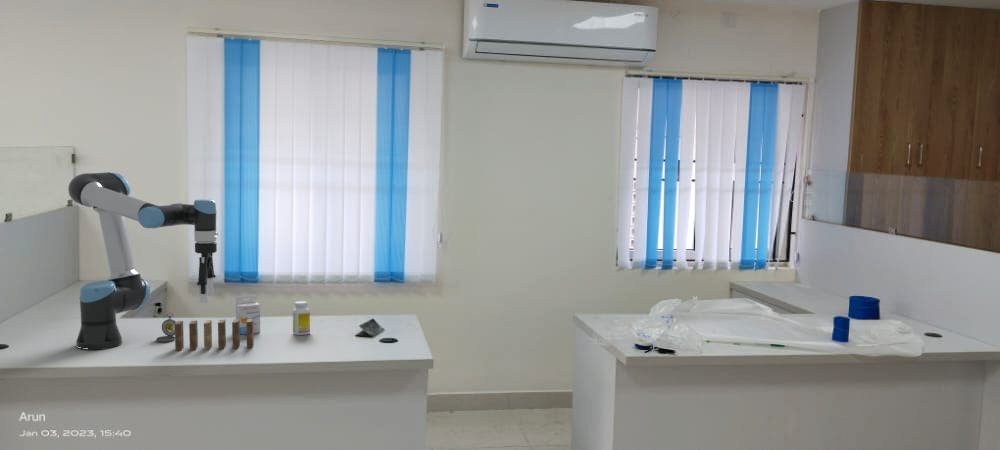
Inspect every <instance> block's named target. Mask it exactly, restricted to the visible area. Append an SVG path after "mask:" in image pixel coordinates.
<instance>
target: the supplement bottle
mask: <svg viewBox="0 0 1000 450" xmlns="http://www.w3.org/2000/svg"><path fill="white" fill-rule="evenodd" d="M307 306H308V301H303V300H301V301H295V302H294V308H293V309H292V333H293V335H296V336H306V335H309V334H310V333H311V315H310V314H311V310H310V308H308V307H307Z"/></svg>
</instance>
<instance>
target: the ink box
mask: <svg viewBox="0 0 1000 450" xmlns="http://www.w3.org/2000/svg"><path fill="white" fill-rule="evenodd" d="M235 300H236V301H235V302H236V303H235V319H239V326H240V335H246V322H247V320H248V319H253V334H257V333H261V304H260V303H258V302H257V295H256V294H250V295H237V296H236V299H235Z"/></svg>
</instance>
